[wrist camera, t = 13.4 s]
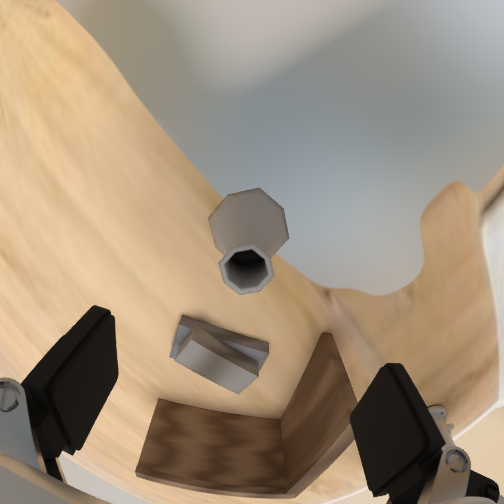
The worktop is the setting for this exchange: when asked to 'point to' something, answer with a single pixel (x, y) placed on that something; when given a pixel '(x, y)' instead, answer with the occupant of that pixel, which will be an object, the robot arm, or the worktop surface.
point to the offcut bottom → (234, 340)
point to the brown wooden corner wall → (255, 438)
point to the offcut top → (217, 361)
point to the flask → (248, 238)
